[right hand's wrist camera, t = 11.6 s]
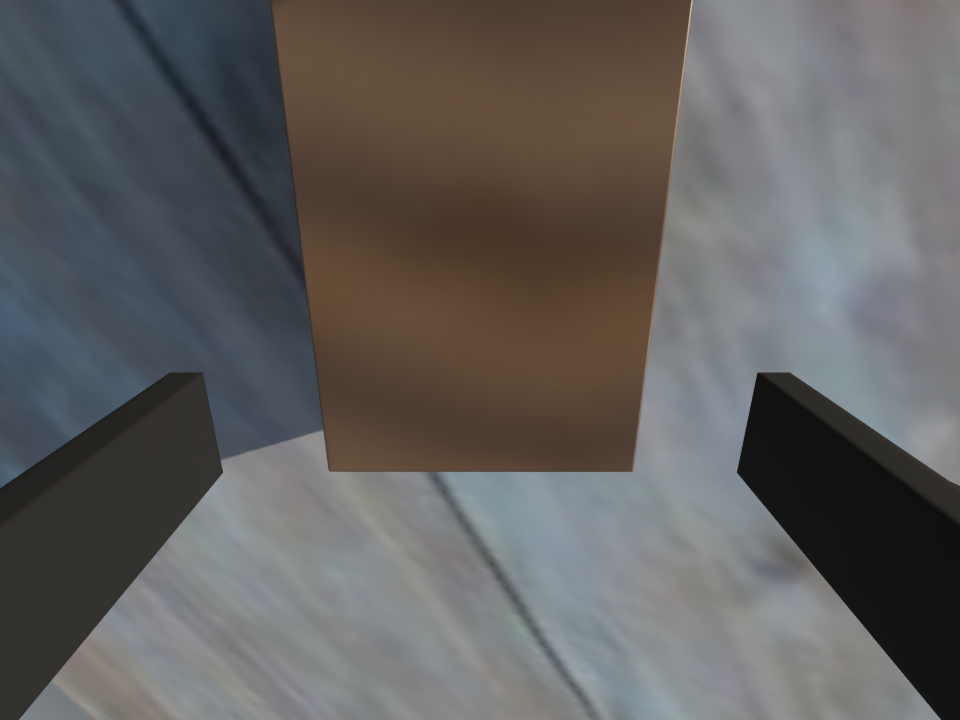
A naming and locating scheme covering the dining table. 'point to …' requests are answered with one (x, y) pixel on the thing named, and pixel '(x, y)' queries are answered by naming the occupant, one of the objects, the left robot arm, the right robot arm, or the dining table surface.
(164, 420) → the right robot arm
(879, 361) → the dining table surface
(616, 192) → the cabinet
